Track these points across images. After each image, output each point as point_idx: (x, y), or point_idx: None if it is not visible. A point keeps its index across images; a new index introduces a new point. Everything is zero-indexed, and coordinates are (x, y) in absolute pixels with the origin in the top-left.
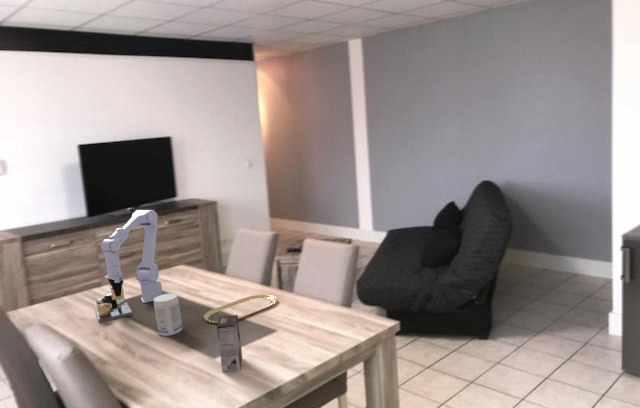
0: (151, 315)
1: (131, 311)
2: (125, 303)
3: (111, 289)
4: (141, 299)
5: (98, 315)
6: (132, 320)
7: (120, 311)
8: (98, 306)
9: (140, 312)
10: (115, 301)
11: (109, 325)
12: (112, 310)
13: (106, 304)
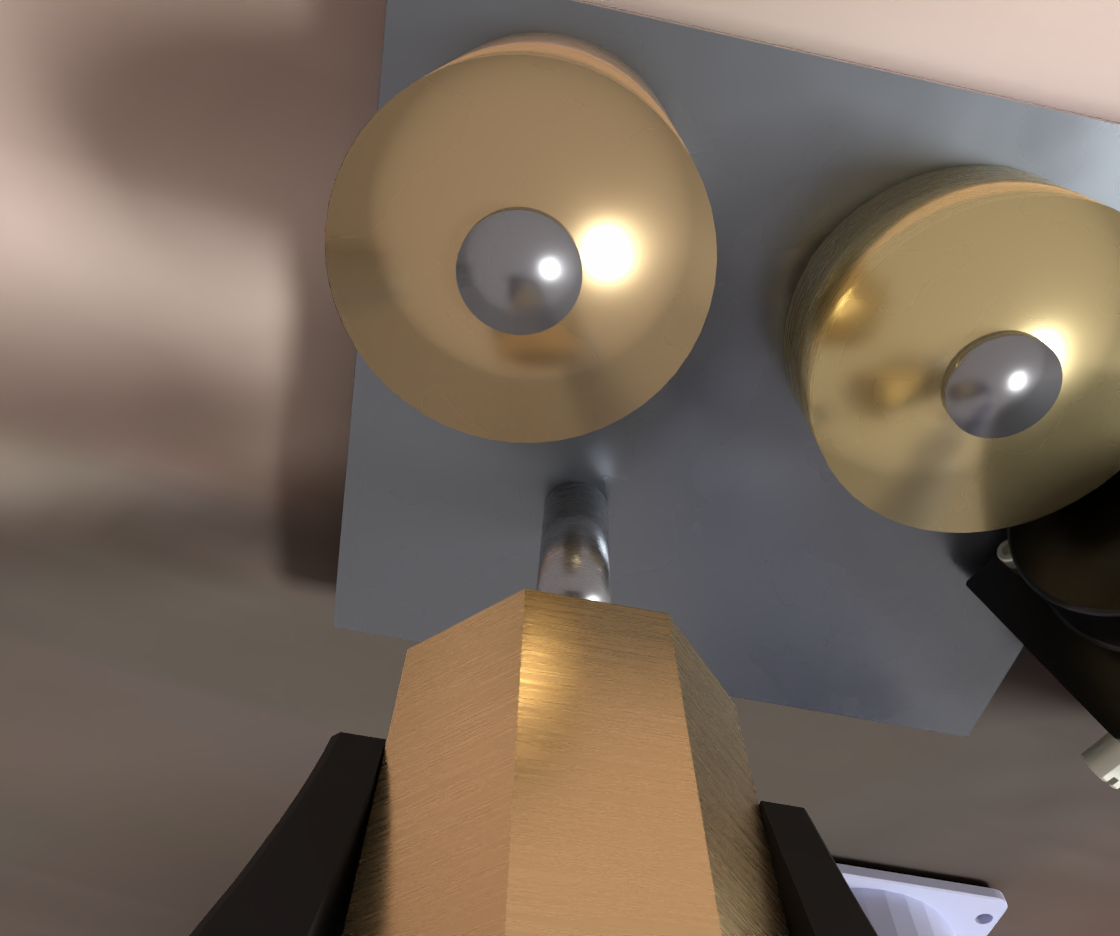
0: (98, 738)
1: (356, 627)
2: (924, 705)
3: (483, 930)
4: (924, 887)
5: (726, 70)
6: (51, 499)
7: (537, 508)
8: (525, 92)
9: (371, 696)
10: (1024, 628)
11: (40, 95)
12: (760, 425)
13: (503, 360)
